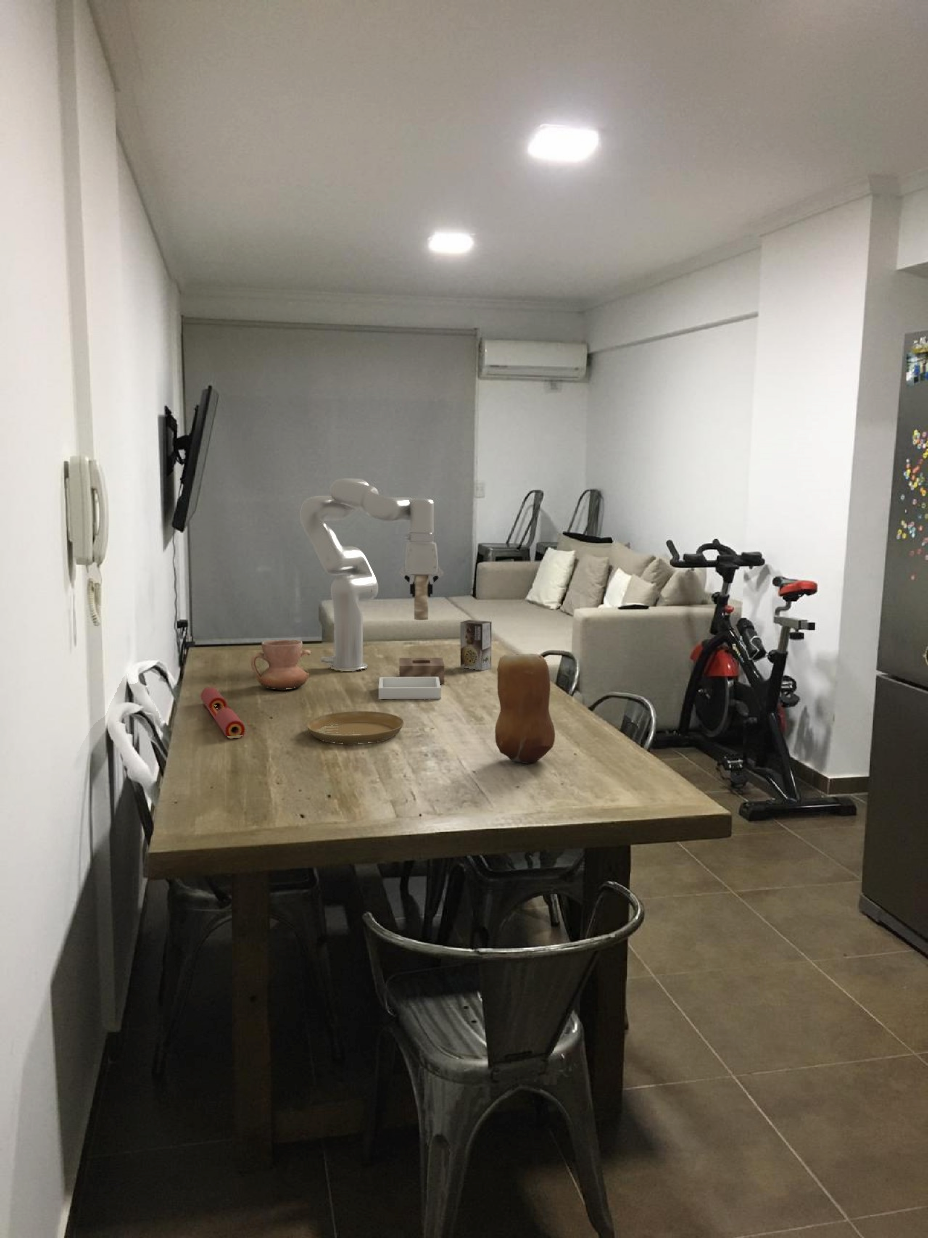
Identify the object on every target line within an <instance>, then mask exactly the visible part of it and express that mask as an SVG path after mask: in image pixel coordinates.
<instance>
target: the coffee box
mask: <svg viewBox="0 0 928 1238" xmlns="http://www.w3.org/2000/svg"><path fill="white" fill-rule="evenodd" d="M459 625H460V626H459V628H460V633H459V634H460V636H459V637H460V639H459V640H460V641H459V642H460V643H459V644H460V652H459V653H460V655H459V656H460V657H459V658H460V666H459V667H460V669H464V668H469V669H468V670H473V669H475V670H474V671H486V670H490V669H491V668H492V625H493V624H492V621H490V620H489V621H487V620H478V619H475V620H474V619H467V620H463V621H460V622H459Z"/></svg>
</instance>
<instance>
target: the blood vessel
mask: <svg viewBox="0 0 928 1238" xmlns="http://www.w3.org/2000/svg"><path fill="white" fill-rule="evenodd" d="M200 699H201V701H202V702H204V703H203V704H204V705H205V706H206V708H207V710H208V711H209V713H210V715H211V716H212V718H213V719H214V721H215V722H216V724H217V725H218V727H219V728H220V729H221V731H222V732H223V734H224V735H225V737H226V736H236V735H243V736H244V735H245V733H246V726H245V724H244V723H243V722H242V720H241V719H240V718H239V717H238V715H237V714H236V712H235V711H234V710H233V709H232V708H229V707H228V703H227V701H226V699H225V698H224V697H223V696H222V694H221V693H220V692H219V690H218V689H217V688H215V687H213V686H208V687H205V688H204V689H203V690H202V691H201V693H200ZM214 705H217V706H216V707H215V706H214ZM216 708H218V709H216Z"/></svg>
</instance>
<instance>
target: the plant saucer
mask: <svg viewBox="0 0 928 1238" xmlns="http://www.w3.org/2000/svg"><path fill="white" fill-rule="evenodd" d="M404 723H405V721H404V719H403V718H401V717H400V716H398V715H396V714H392V713H387V712H382V711H381V712H380V711H373V710H370V711H368V710H367V711H365V710H359V711H358V710H356V711H355V710H354V711H353V710H352V711H340V712H333V713H328V714H324V715H320V716H317V717H313V718H312V719H310V720H309V721H308V722H307V724H306V728H307V730H308V731H309V732H310V734H311V735H312V736H313V737H314V738H316V739H318V740H319V739H320V741H322V740H324V741H323V742H325V741H327V742H326V743H329V742H335V743H343V744H342V745H348V744H355V745H359V744H358V743H368V742H376V743H378V742H377V741H381V742H383V741H382V740H384V741H387V740H389V739H391V738H393V737H394V736H396V735H397V734H398V733H399V732H401V730H402V728H403V727H404ZM333 724H334V725H333ZM335 724H338V725H335ZM331 725H333V726H340V727H338V728H337V727H336V728H326V729H338V730H332V731H325V732H335V733H327V734H324V733H319V732H316V730H317V729H320V728H322V727H324V726H331ZM342 726H343V727H342ZM345 726H346V727H345ZM336 732H338V733H336ZM349 732H351V733H349ZM353 732H354V733H353ZM331 734H343V735H331ZM345 734H348V735H345ZM349 734H361V735H349ZM386 739H387V740H386ZM335 743H334V744H335Z"/></svg>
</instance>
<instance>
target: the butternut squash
mask: <svg viewBox="0 0 928 1238" xmlns="http://www.w3.org/2000/svg"><path fill="white" fill-rule="evenodd" d="M496 671H497V678H496V679H497V685H496V686H497V697H498V701H499V707H500V710H499V715H498V717H497V720H496V722H495V727H494V728H495V730H494V737H495V738H494V739H495V745H496V746H497V748H498V750H499V753H500V754H502V755H504V756H506V757H507V758H508V759H509V760H511V761H514V762H519V763H522V764H527V765H529V764H533V763H537V762H538V761H539V760H541V758H544V756H546V754H547V753H549V751H551V749H552V748H553V747H554V745H555V740H556V731H555V726H554V723H553V720H552V718H551V717H552V716H551V714H550V696H551V678H550V677H551V676H550V669H549V665H548V662H547V660H546V659H545V657H543V656H542V655H541V654H538V653H512V652H511V653H508V654H507V653H506V654H504V655H502V656H501V657H499V661H498V664H497V668H496Z"/></svg>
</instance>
